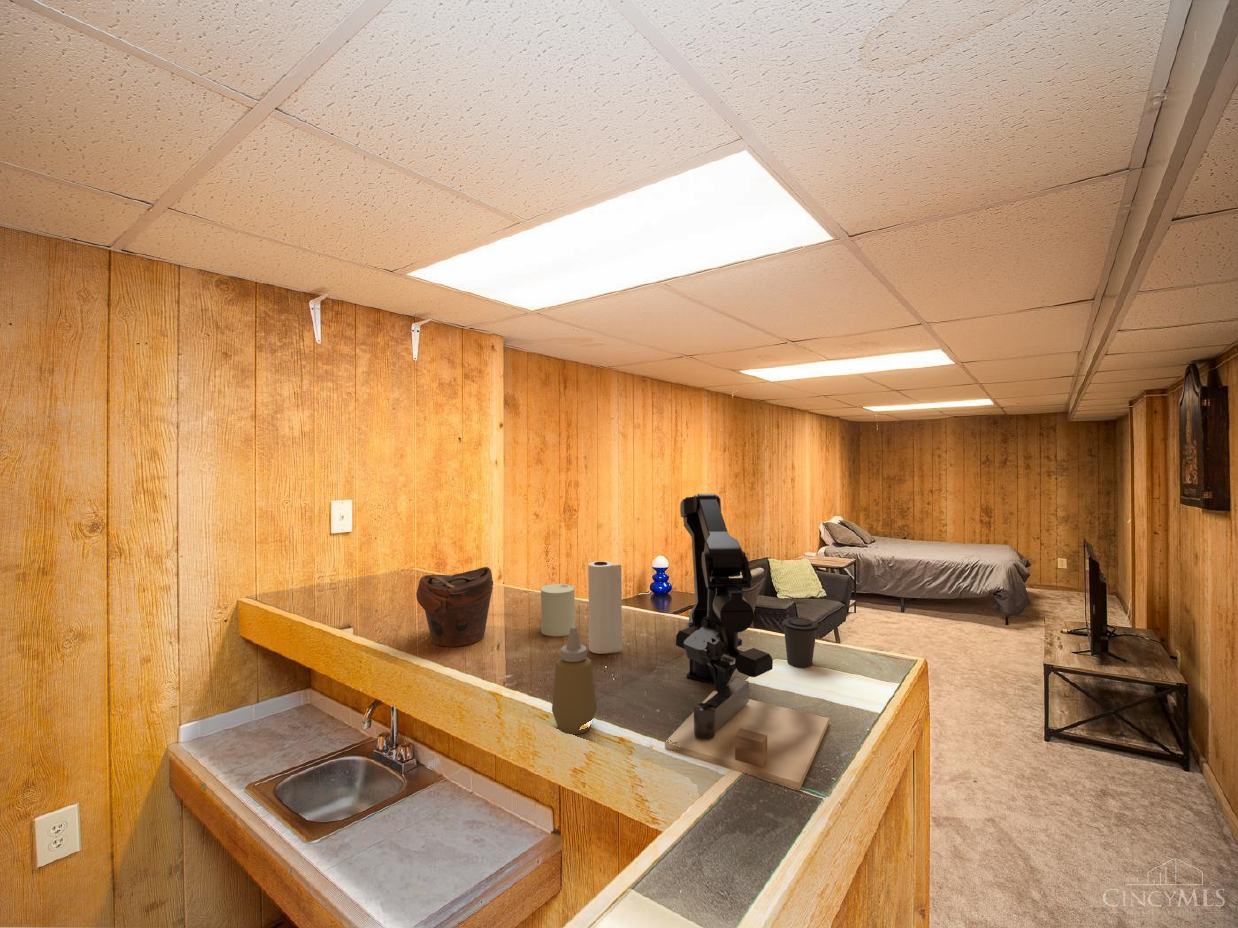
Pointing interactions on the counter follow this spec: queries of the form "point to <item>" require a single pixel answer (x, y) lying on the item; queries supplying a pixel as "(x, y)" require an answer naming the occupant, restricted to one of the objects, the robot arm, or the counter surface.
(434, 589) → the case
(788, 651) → the coffee cup
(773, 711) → the tan flat square sheet
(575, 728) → the squeeze bottle
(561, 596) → the can
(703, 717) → the swing bar
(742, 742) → the block
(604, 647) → the paper towel roll
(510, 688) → the counter surface
